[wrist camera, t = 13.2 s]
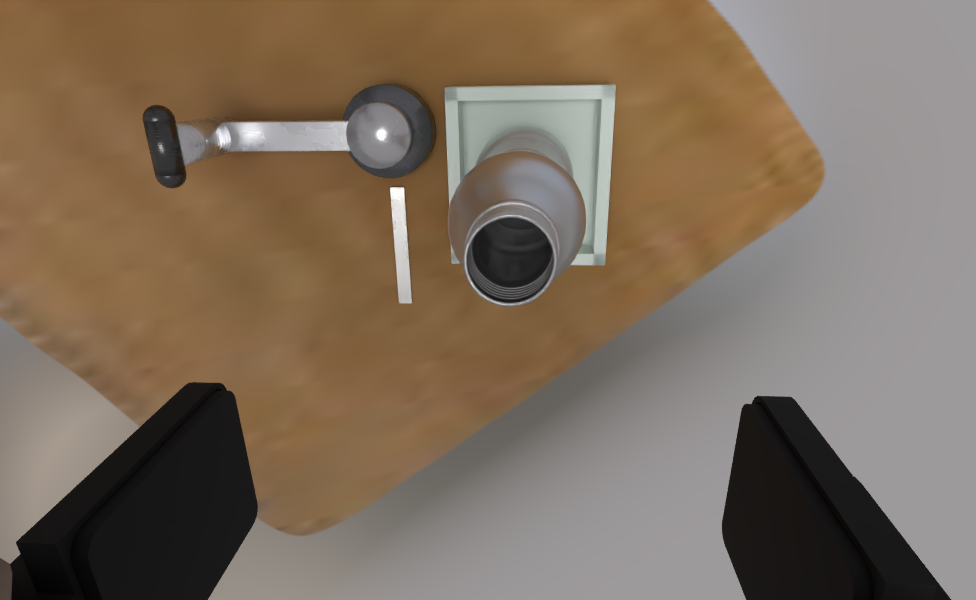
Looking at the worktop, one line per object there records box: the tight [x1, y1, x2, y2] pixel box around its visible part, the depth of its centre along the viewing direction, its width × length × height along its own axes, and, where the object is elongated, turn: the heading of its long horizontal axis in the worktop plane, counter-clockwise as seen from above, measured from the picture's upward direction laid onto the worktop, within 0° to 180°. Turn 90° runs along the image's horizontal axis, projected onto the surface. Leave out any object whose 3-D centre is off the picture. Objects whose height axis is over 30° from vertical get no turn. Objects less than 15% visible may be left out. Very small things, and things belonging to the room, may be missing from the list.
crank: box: [143, 101, 415, 188], centre depth 35 cm, size 14×5×8 cm, turn 91°
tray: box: [444, 84, 616, 265], centre depth 40 cm, size 12×11×3 cm
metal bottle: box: [448, 126, 586, 307], centre depth 31 cm, size 6×7×20 cm
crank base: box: [343, 84, 436, 303], centre depth 42 cm, size 16×6×2 cm, turn 1°
